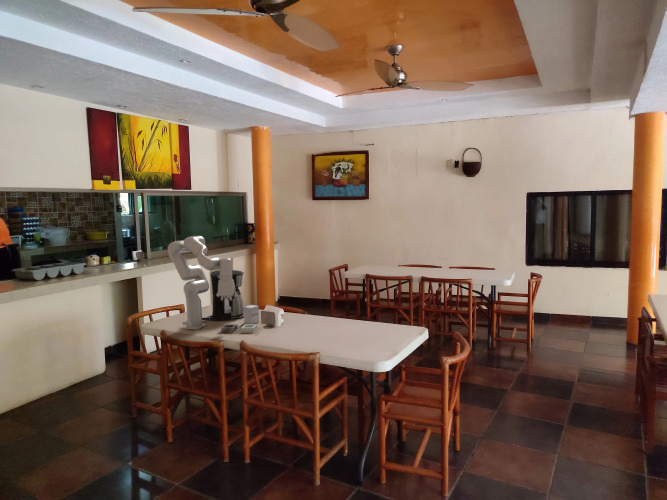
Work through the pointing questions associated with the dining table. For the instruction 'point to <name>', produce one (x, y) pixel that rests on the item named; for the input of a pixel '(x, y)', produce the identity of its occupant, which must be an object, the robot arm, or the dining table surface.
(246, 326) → the dock socket
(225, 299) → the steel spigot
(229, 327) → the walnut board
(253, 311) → the supplement box
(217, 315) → the coffee maker
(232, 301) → the robot arm
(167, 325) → the dining table surface
